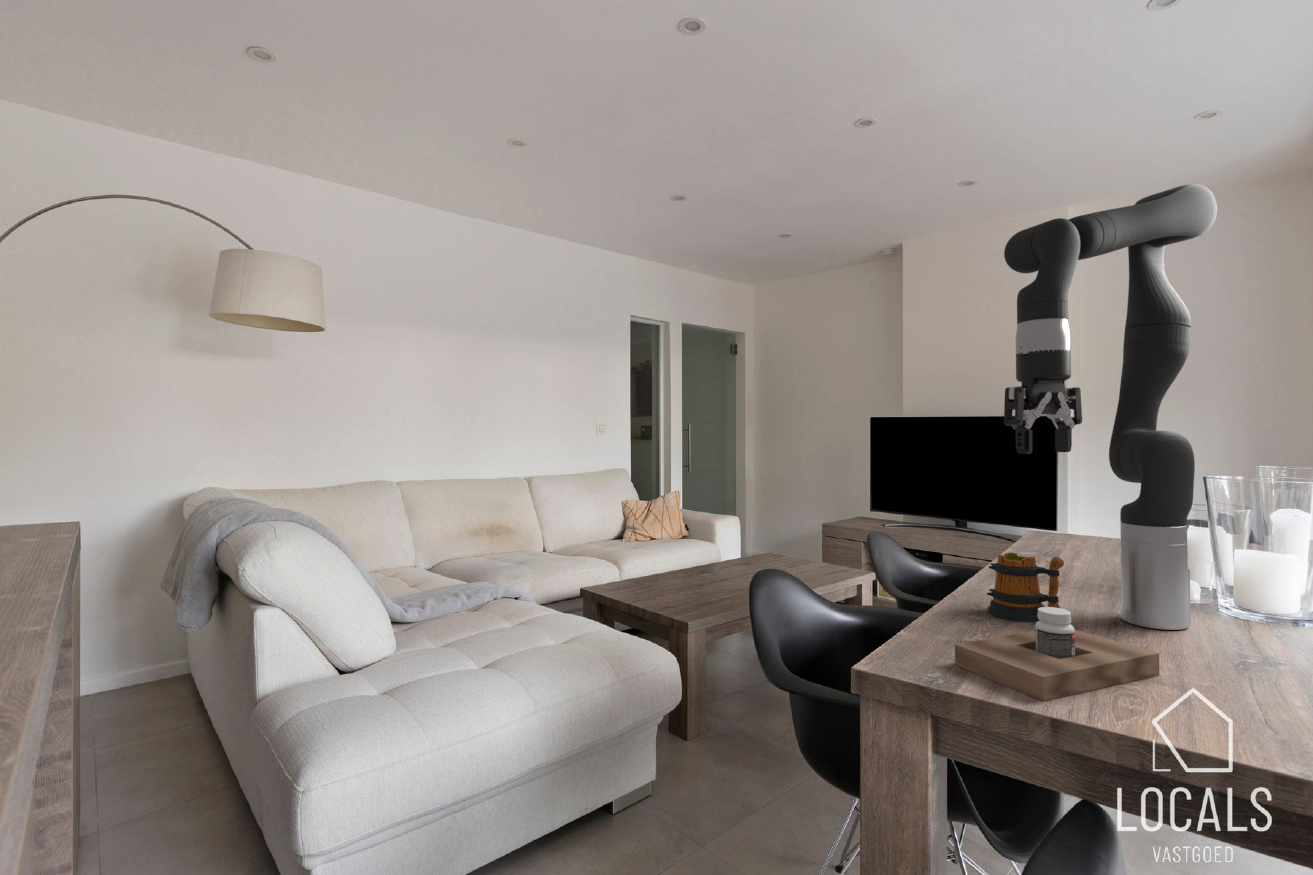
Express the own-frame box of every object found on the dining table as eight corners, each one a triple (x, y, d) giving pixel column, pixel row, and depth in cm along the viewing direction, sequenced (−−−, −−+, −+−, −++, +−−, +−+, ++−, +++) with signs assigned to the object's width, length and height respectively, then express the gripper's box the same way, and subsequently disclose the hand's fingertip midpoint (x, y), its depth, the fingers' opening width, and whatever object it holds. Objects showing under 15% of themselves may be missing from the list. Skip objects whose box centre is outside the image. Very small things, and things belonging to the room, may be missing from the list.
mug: (975, 613, 121) (974, 551, 121) (1002, 604, 127) (1001, 545, 127) (1052, 629, 111) (1051, 561, 111) (1077, 618, 117) (1076, 554, 117)
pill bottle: (1081, 677, 89) (1080, 615, 89) (1043, 674, 90) (1042, 614, 90) (1067, 664, 94) (1066, 606, 94) (1031, 663, 95) (1030, 605, 95)
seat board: (1063, 645, 103) (1062, 625, 102) (1159, 675, 89) (1159, 653, 89) (955, 664, 95) (954, 644, 95) (1043, 701, 82) (1043, 676, 81)
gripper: (1052, 355, 110) (1054, 451, 110) (989, 352, 105) (990, 453, 105) (1097, 349, 103) (1098, 452, 103) (1031, 346, 98) (1032, 454, 98)
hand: (1044, 452), depth 104 cm, fingers open, 8 cm apart
